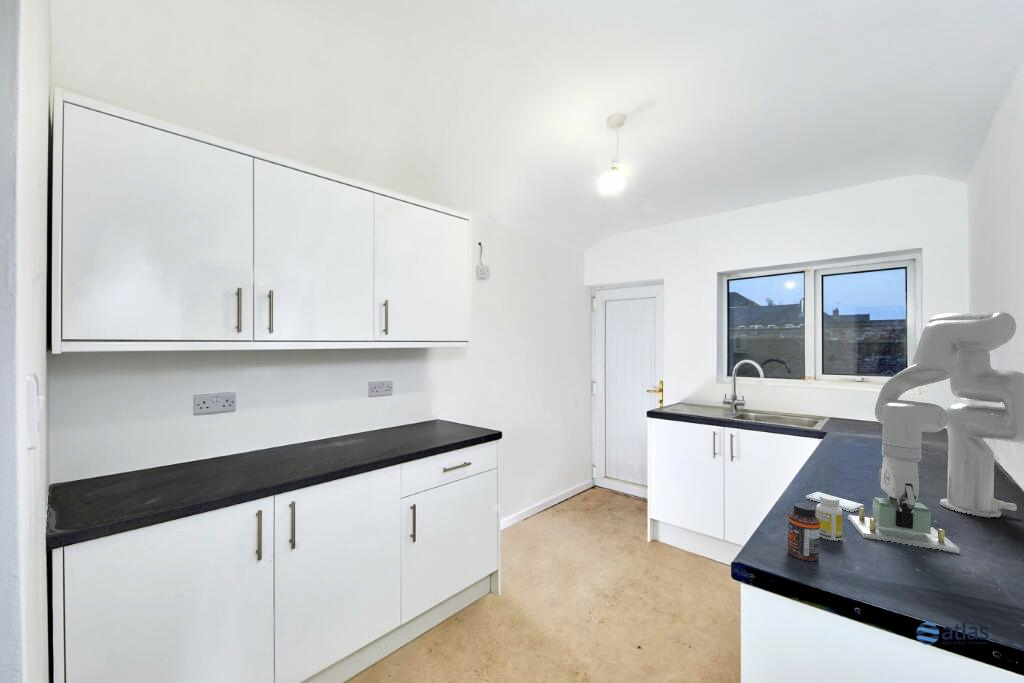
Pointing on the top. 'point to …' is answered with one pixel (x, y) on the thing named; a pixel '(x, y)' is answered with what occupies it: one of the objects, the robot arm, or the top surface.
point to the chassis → (901, 534)
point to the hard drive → (843, 503)
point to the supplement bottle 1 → (804, 532)
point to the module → (887, 515)
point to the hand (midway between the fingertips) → (899, 522)
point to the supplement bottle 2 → (830, 518)
